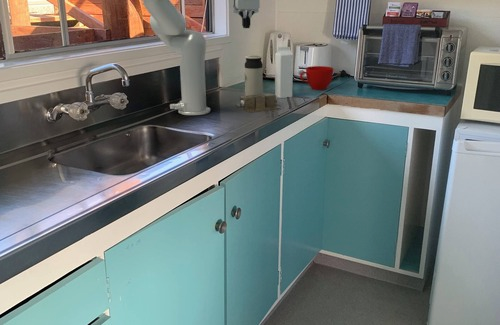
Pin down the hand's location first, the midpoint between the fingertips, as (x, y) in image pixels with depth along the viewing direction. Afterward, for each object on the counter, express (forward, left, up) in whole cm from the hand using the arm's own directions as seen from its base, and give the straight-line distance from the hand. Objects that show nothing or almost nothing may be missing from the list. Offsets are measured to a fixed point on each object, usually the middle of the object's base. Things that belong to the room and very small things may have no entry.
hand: (246, 27), depth 206 cm
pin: (0, -10, -31) cm, 33 cm away
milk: (+20, +4, -31) cm, 37 cm away
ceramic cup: (+42, +12, -31) cm, 54 cm away
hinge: (0, -10, -31) cm, 33 cm away
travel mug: (+8, +10, -31) cm, 34 cm away
